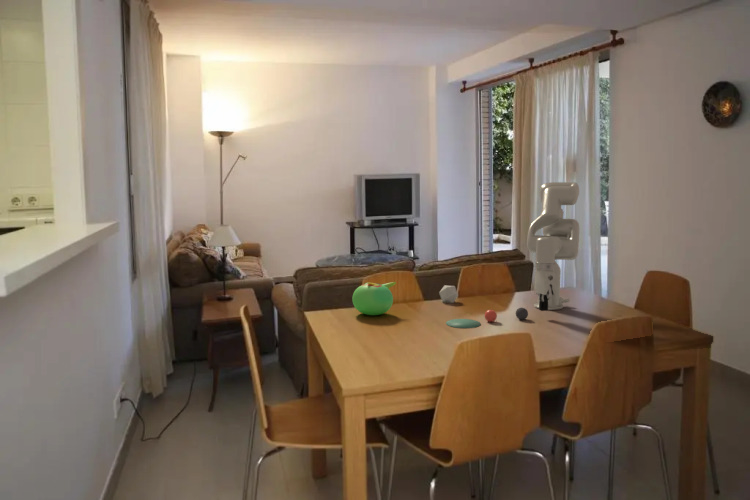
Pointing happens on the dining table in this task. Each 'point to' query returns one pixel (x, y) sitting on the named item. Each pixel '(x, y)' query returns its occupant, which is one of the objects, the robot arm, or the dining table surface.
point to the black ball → (521, 313)
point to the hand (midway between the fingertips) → (543, 310)
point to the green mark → (463, 323)
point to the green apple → (373, 298)
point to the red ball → (490, 315)
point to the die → (448, 294)
